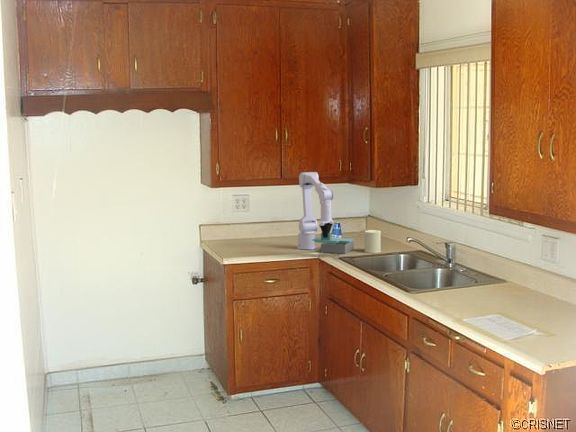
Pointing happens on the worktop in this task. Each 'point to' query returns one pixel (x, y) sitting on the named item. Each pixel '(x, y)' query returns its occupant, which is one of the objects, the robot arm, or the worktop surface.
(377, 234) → the can
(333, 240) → the lid
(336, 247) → the tub
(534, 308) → the worktop surface
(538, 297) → the worktop surface
